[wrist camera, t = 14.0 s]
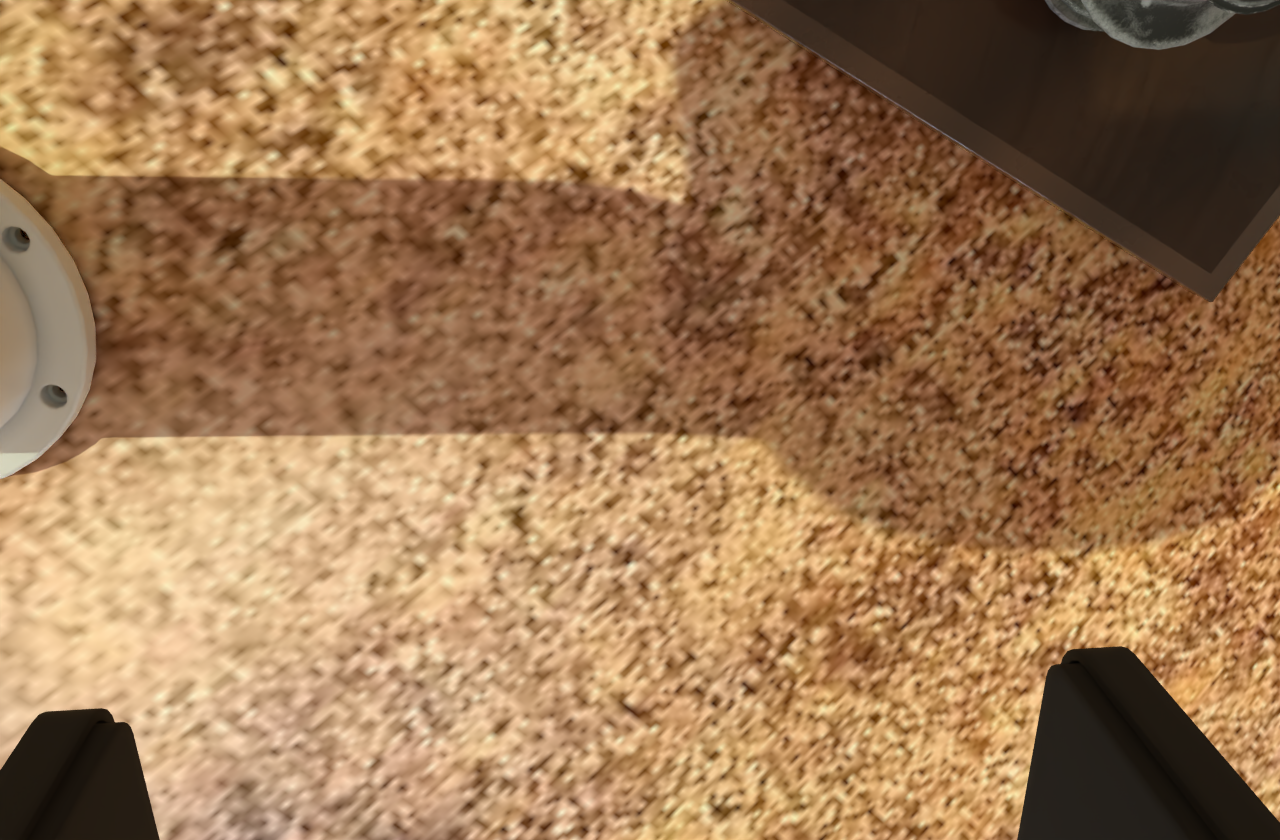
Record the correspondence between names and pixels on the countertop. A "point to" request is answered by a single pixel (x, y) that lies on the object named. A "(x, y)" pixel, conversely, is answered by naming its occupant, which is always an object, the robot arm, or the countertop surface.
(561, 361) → the countertop surface
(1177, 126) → the board
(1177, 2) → the stone chess piece
